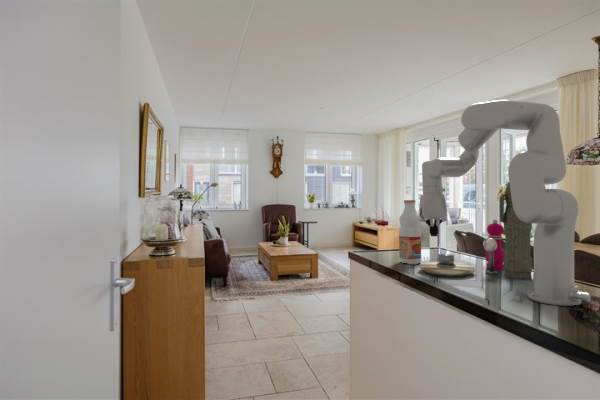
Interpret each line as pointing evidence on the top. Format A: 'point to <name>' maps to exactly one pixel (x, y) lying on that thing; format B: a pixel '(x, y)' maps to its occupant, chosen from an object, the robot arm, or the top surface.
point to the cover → (446, 261)
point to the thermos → (515, 241)
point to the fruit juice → (409, 234)
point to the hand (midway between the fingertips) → (434, 236)
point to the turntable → (458, 270)
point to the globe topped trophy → (490, 253)
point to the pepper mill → (495, 233)
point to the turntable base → (446, 275)
